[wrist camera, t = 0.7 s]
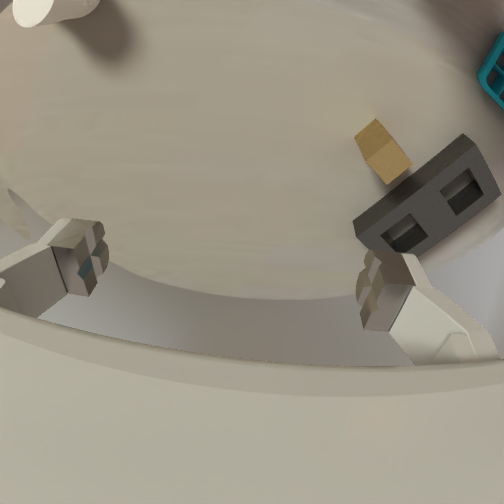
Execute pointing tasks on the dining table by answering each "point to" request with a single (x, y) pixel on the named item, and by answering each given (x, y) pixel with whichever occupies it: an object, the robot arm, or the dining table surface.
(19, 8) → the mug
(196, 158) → the dining table surface
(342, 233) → the dining table surface
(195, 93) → the dining table surface
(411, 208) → the block with square holes
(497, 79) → the ice cube tray
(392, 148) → the peg
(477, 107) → the dining table surface
